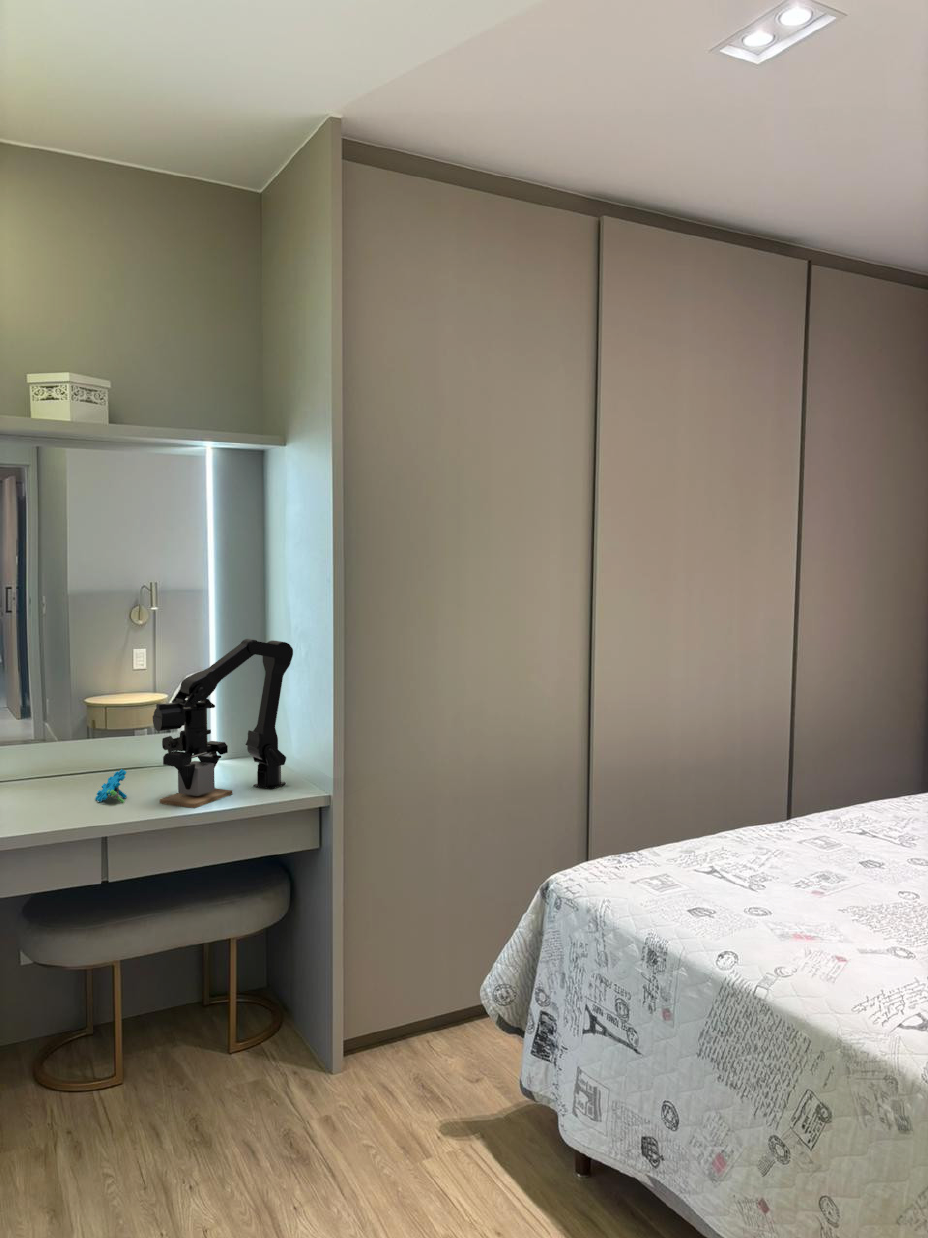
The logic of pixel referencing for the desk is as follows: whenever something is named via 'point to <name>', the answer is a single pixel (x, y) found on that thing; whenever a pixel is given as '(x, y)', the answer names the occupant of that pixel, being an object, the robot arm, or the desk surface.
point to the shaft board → (195, 798)
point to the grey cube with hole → (199, 779)
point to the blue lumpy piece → (112, 787)
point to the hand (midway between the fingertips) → (196, 786)
